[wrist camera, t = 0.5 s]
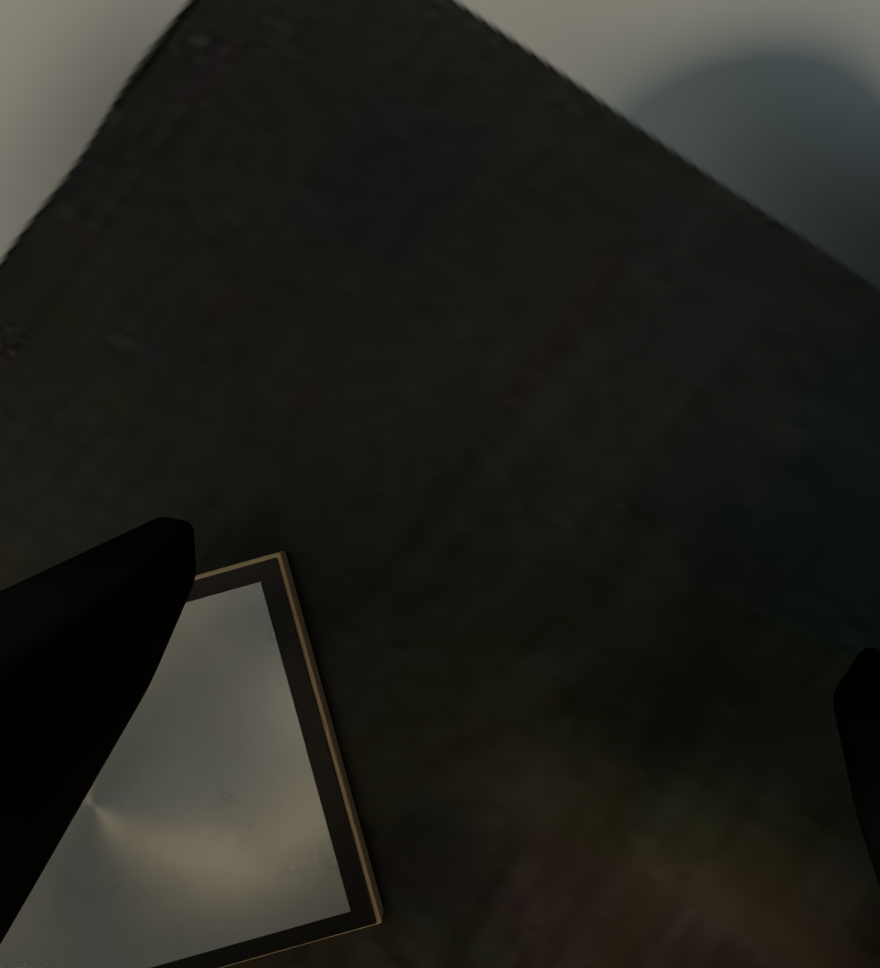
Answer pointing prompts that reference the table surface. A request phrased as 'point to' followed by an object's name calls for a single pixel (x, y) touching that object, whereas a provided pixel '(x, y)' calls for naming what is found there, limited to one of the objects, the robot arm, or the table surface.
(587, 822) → the table surface
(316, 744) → the tablet
